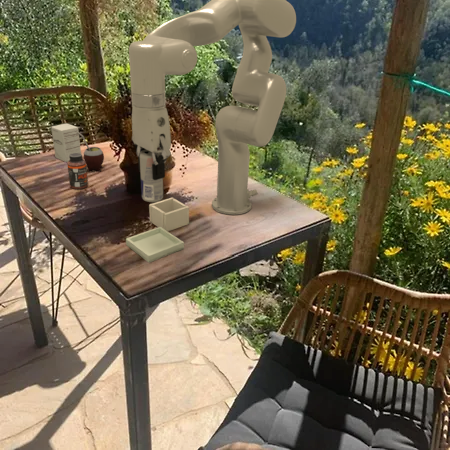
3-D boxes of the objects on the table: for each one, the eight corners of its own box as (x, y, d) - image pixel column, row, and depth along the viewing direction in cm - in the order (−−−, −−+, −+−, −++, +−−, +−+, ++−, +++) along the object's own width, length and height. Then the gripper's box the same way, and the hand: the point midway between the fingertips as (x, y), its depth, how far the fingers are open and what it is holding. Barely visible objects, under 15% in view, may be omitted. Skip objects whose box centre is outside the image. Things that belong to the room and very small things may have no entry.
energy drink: (153, 191, 117) (151, 147, 112) (167, 197, 114) (166, 152, 109) (137, 198, 114) (134, 152, 108) (151, 204, 111) (150, 157, 105)
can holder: (172, 213, 138) (172, 197, 136) (188, 223, 133) (188, 207, 130) (149, 221, 134) (149, 204, 131) (165, 232, 128) (165, 214, 126)
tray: (160, 232, 128) (160, 226, 127) (183, 248, 121) (183, 242, 120) (126, 245, 121) (125, 238, 120) (148, 262, 114) (148, 256, 113)
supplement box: (55, 158, 177) (50, 126, 171) (71, 153, 182) (67, 122, 176) (65, 162, 173) (61, 130, 167) (82, 158, 178) (78, 126, 172)
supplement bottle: (81, 191, 151) (77, 158, 145) (66, 188, 152) (61, 156, 147) (91, 184, 156) (88, 153, 150) (77, 182, 157) (73, 150, 152)
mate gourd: (108, 169, 168) (105, 130, 161) (90, 175, 163) (86, 134, 156) (96, 164, 172) (92, 126, 165) (78, 170, 167) (73, 130, 160)
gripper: (184, 105, 99) (185, 182, 108) (142, 91, 110) (145, 161, 119) (155, 110, 95) (158, 189, 103) (114, 94, 106) (120, 167, 114)
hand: (151, 174), depth 111 cm, fingers closed on energy drink, 5 cm apart
